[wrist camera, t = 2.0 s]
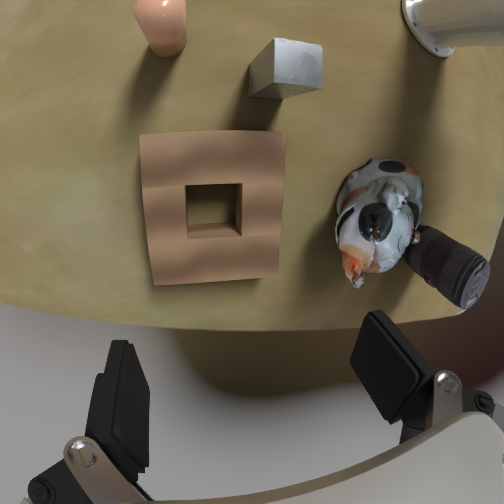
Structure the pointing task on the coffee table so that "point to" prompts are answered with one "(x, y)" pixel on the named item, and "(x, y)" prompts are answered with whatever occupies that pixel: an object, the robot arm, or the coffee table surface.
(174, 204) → the bore block
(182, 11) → the round bit
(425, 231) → the camera lens
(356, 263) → the lucky cat figurine
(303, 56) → the square bit
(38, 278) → the coffee table surface
